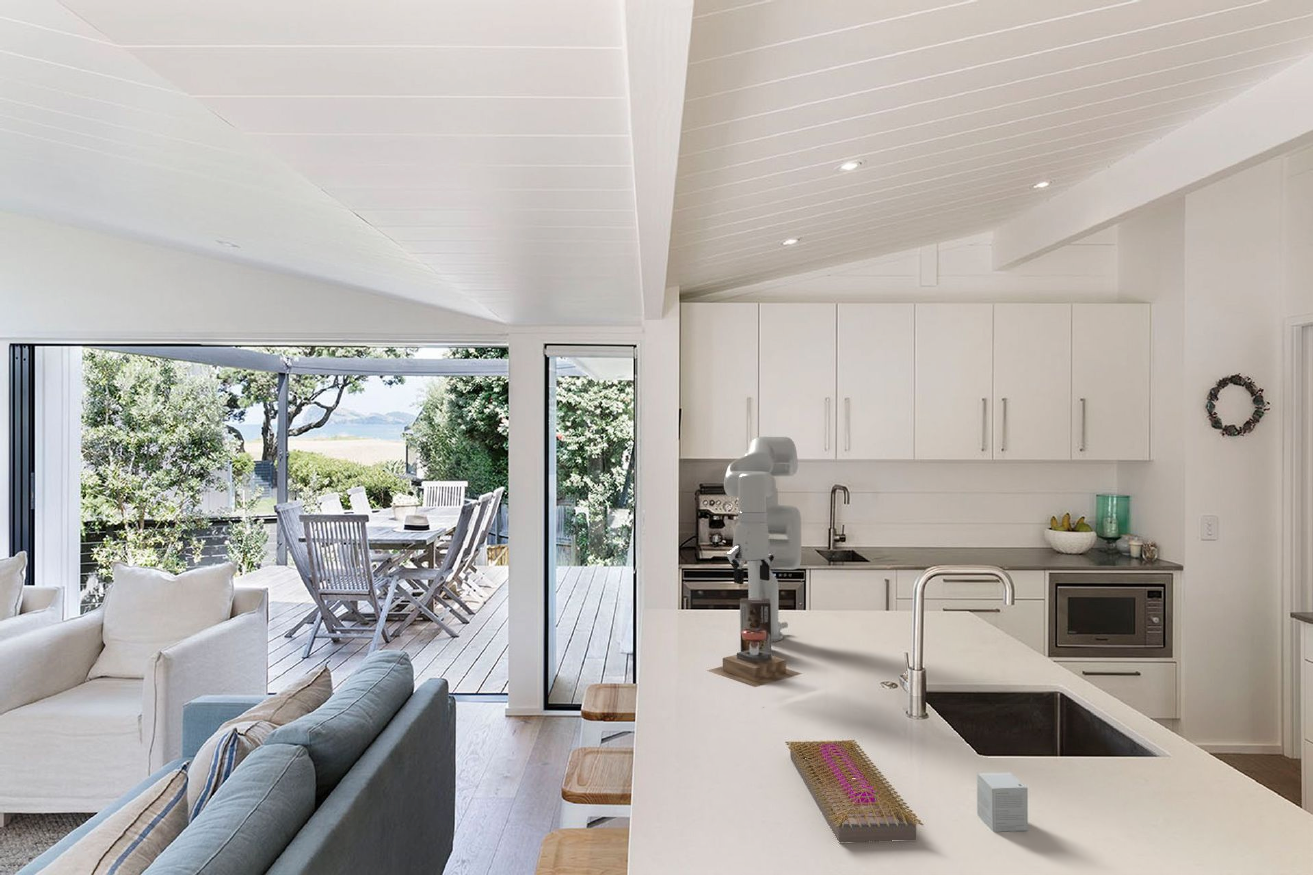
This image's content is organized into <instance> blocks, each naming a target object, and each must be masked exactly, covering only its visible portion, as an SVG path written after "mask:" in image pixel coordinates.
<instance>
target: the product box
mask: <svg viewBox="0 0 1313 875" xmlns="http://www.w3.org/2000/svg"><path fill="white" fill-rule="evenodd" d="M976 774H977V775H976V776H977V777H976V814H977V817H979V819H981V821H983V823H984V824H985V825H986V826H987V827H988V828H989V829H990V830H991V832H993V833H995V832H997V833H998V832H999V833H1000V832H1022V831H1023V832H1024V831H1026V832H1027V831H1028V830H1029V823H1028V822H1029V821H1028V820H1029V818H1028V817H1029V815H1028V814H1029V813H1028V811H1029V810H1028V809H1029V807H1028V802H1029V801H1028V796H1029V795H1028V794H1029V793H1028V790H1029V788H1028V787H1027V786H1026V785H1025V784H1024V783H1023V782H1021V781H1020V780H1019V779H1018V778H1017V777H1016V776H1014V774H1013V773H1011V772H988V773H987V772H983V773H982V772H981V773H980V772H979V773H976Z"/></svg>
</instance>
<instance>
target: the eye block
mask: <svg viewBox="0 0 1313 875" xmlns="http://www.w3.org/2000/svg"><path fill="white" fill-rule="evenodd" d="M707 672H710V673H713V674H716V675H719V676H721V677H725V678H728V679H731V680H733V681H737V682H739V683H742V684H745V685H748V686H750V687H754V688H756V687H760V686H764V685H766V684H767V685H768V684H771V683H774V682H777V681H780V680H785V679H787V678H792V677H794V676H795V677H796V676H798V675H802V673H801V672H799V671H795V670H792V669H788V668H787V660H786V658H780V657H778V656H774V655H773V654H772V653H771V654H770V653H767V652H763V651H760V650H759V655H757V656H752V655H750V650H747V651H743V652H741V651H739V652H737V653H736V654H734V655H729V656H726V657H722V665H721V666H719V667H714V668H711V669H707Z"/></svg>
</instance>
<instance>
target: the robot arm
mask: <svg viewBox="0 0 1313 875" xmlns="http://www.w3.org/2000/svg"><path fill="white" fill-rule="evenodd" d="M798 466H799V460H798V454H797V446H796V444H795V442H794V441H793V439H791V438H790V437H787V436H758V437H756V438H753V439H752V440H751V441H750V442H749V444H748V447H747V452H745V454H744V455H743V456H742V457H739V458H738V459H735V460H734V461H732V462H731V463H730V464H729V465H728V467H727V469H726V471H725V475H724V478H723V479H724V480H723V489H724V492H725V494H726V496H728V497H729V498H734V499H737V523H735V526H734V530H733V538H732V539H733V540H732V549H730V550H729V551H727V553H726V557H727V559H728V563H729V564H730V565H731V568H732V569H733V583H734V584H736V585H737V584H738V585H743V584H744V583H745V582H744V577H745V576H744V574H745V571H744V569H743V567H744V565H745V563H746V565H747V575H748V578H747V579H748V598H762V599H770V602H771V643H773V642H778V641H781V640H783V639H784V633H782V632H781V631H782V629H786V628H788V627H789V624H788V622H787V621H783V622H780V621H779V582H778V579H777V577H776V576H775V574H774V573H773V572H772V570H797V569H798V568H799V567H800V566H801V563H802V516H801V512H800V510H799V509H798V507H796V506H793V505H779V502H778V501H779V491H778V488H777V487H776V486H777V485H776V484H777V482H776V478H775V477H793V476H795V474H797V472H798V471H797V470H798ZM771 535H772V536H784V537H786V538H784V539H783V538H770V536H771Z"/></svg>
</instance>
